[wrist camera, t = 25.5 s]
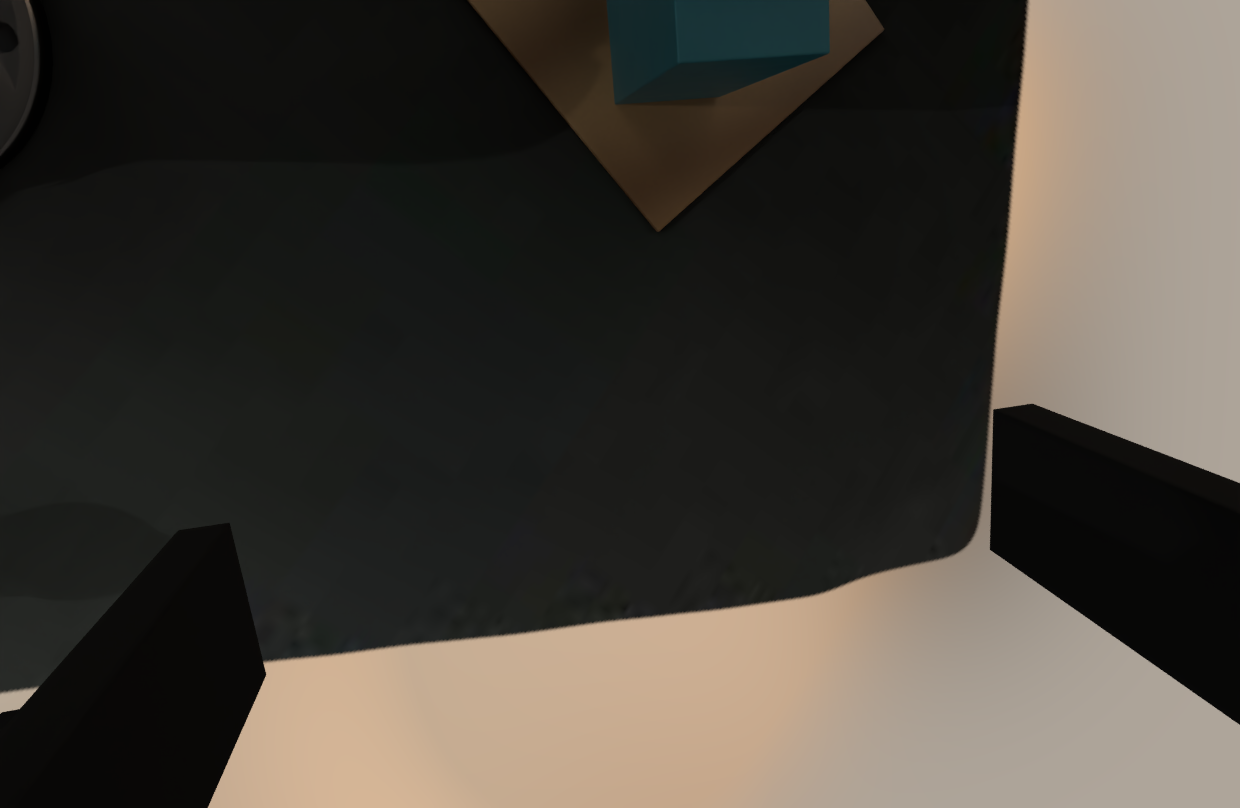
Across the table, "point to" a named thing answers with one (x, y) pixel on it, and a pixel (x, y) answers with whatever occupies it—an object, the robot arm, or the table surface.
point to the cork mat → (665, 130)
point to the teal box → (709, 45)
